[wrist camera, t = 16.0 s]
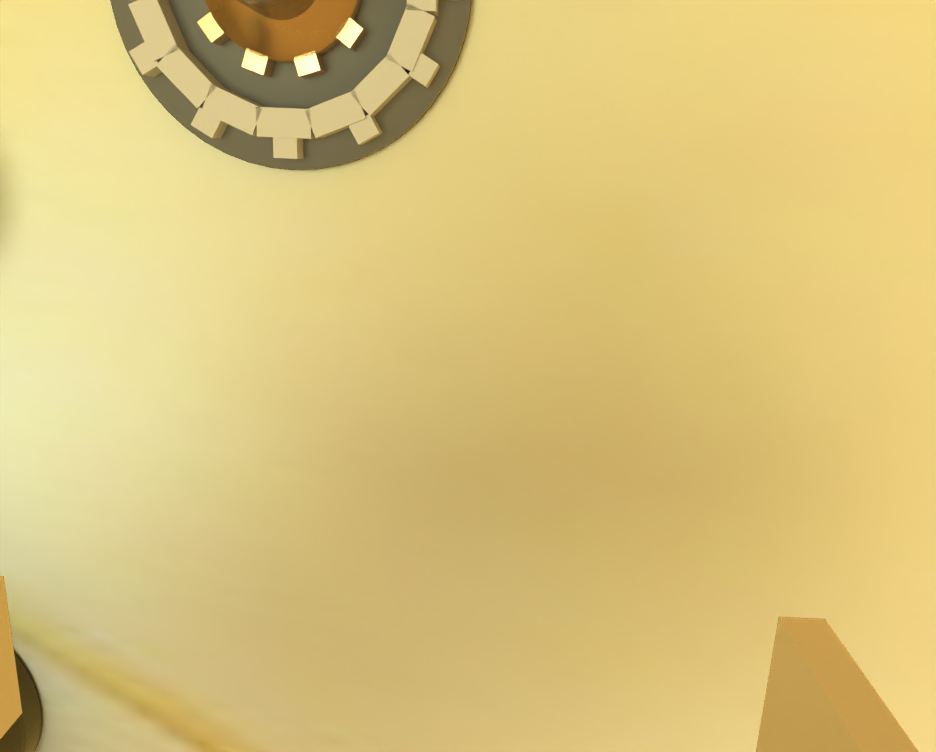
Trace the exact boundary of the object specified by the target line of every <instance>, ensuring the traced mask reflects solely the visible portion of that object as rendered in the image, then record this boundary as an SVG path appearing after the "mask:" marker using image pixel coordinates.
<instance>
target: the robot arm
mask: <svg viewBox="0 0 936 752" xmlns="http://www.w3.org/2000/svg"><path fill="white" fill-rule="evenodd" d="M40 732H41V708H40V702H39V698H38V694H37V691H36V689H35V686H34V684H33V681H32V679H31V677H30V675H29V674H28V672H27V670H26V669H25V667H24V665H23V664H22V663H21V661H20V660H19V659H18V657H17V656H16V655H15V654H14V648H13V641H12V634H11V627H10V619H9V612H8V605H7V597H6V590H5V583H4V576H0V752H34V751H35V749H36V746H37V744H38V740H39V737H40ZM756 752H918V750H917V749H916V747H915V746H914V745H913V743H912V742H911V740H910V739H909V737H908V736H907V735H906V733H905V732H904V730H903V729H902V728H901V726H900V725H899V723H898V722H897V720H896V719H895V718H894V716H893V715H892V713H891V712H890V711H889V709H888V708H887V706H886V705H885V703H884V702H883V701H882V699H881V698H880V696H879V695H878V694H877V692H876V691H875V689H874V688H873V686H872V685H871V684H870V682H869V681H868V679H867V678H866V677H865V675H864V674H863V672H862V671H861V669H860V668H859V667H858V665H857V664H856V662H855V661H854V660H853V658H852V657H851V655H850V654H849V652H848V651H847V650H846V648H845V647H844V645H843V644H842V643H841V641H840V640H839V638H838V637H837V635H836V634H835V633H834V631H833V630H832V628H831V627H830V626H829V624H828V623H827V621H826V620H825V619H814V618H795V617H779V619H778V625H777V631H776V637H775V642H774V648H773V654H772V660H771V666H770V672H769V678H768V684H767V689H766V695H765V701H764V707H763V713H762V719H761V725H760V730H759V736H758V742H757V748H756Z"/></svg>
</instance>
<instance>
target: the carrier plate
mask: <svg viewBox="0 0 936 752" xmlns="http://www.w3.org/2000/svg"><path fill="white" fill-rule="evenodd" d="M110 1H111V5H112V8H113V12H114V16H115V20H116V24H117V27H118V30H119V32H120V35H121V37H122V40H123V43H124V45H125V48H126V50H127V52H128V54H129V56H130V58H131V60H132V62H133V64H134V66H135V68H136V69H137V71H138V73H139V75H140V76H141V77H142V79H143V80H144V82H145V83H146V85H147V86H148V88H149V89H150V91H151V92H152V94H153V95H154V96H155V97H156V98H157V99H158V101H159V102H160V103H161V104H162V105H163V106H164V108H165V109H166V110H167V111H168V112H169V113H170V114H171V115H172V116H173V117H174V118H175V119H176V120H178V121H179V122H180V123H181V124H182V125H183V126H184V127H185V128H186V129H188V130H189V131H191V132H192V133H193V134H195V135H196V136H197V137H199V138H200V139H202V140H203V141H204V142H206V143H208V144H210V145H211V146H213V147H215V148H217V149H219V150H221V151H222V152H224V153H226V154H229V155H231V156H234V157H236V158H239V159H241V160H244V161H247V162H250V163H254V164H258V165H262V166H266V167H270V168H279V169H288V170H310V169H321V168H327V167H333V166H339V165H343V164H346V163H349V162H352V161H356V160H359V159H361V158H364V157H366V156H368V155H370V154H372V153H374V152H376V151H379V150H381V149H382V148H384V147H385V146H387V145H388V144H390V143H391V142H393V141H394V140H396V139H398V138H399V137H400V136H401V135H403V134H404V133H405V132H406V131H407V130H408V129H410V128H411V127H412V126H413V125H414V124H415V123H416V122H417V121H418V120H419V119H420V118H421V117H422V116H423V115H424V113H425V112H426V111H427V110H428V109H429V108H430V107H431V106H432V104H433V103H434V101H435V100H436V98H437V97H438V95H439V94H440V92H441V91H442V89H443V88H444V86H445V85H446V83H447V81H448V79H449V77H450V75H451V73H452V71H453V69H454V67H455V65H456V62H457V60H458V57H459V54H460V51H461V48H462V45H463V43H464V39H465V35H466V30H467V26H468V21H469V17H470V7H471V0H362V4H361V8H360V11H359V14H358V17H357V19H356V21H355V23H357V24H358V25H359V26H360V27H361V28H363V29H364V30H365V31H366V32H367V33H368V34H367V35H366V36H365V38H364V39H363V41H362V42H361V44H360V45H359V46H358V48H357V49H356V51H355V52H354V51H353V50H351V49H350V48H349V47H348V46H346V45H345V44H344V43H343V42H341V43H340V44H339V45H338V46H336V47H335V48H334V49H333V50H331V51H330V52H328V53H327V54H325V55H323V56H322V60H323V63H324V66H325V69H326V73H324V74H321V75H317V76H314V77H311V78H308V79H305V78H302V77H299V75H298V71H297V68H296V65H295V63H291V64H288V63H279V62H276V63H275V66H274V70H273V73H272V77H268V76H265V75H262V74H259V73H257V72H254V71H252V70H249V69H246V68H244V67H242V63H243V60H244V56H245V52H246V50H245V49H243V48H241V47H240V46H239V45H237V44H236V43H235V42H233V41H232V40H231V39H230V40H229V41H228V42H227V43H225V44H224V45H223V46H219V45H217V44H214V43H211V41H210V40H209V38H208V37H207V35H206V34H205V33H204V31H203V30H202V28H201V27H200V25H199V24H198V21H199V20H201V19H202V18H203V17H204V16H206V15H207V14H208V13H209V12H210V11H209V9H208V7H207V5H206V2H205V0H110Z"/></svg>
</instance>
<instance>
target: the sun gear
mask: <svg viewBox="0 0 936 752" xmlns="http://www.w3.org/2000/svg"><path fill="white" fill-rule="evenodd" d="M205 2H206V5H207V7H208V9H209V11H210V12H209V13H208V14H207V15H206V16H204V17H203V18H202V19H201V20H199V21H198V24H199V25H200V27H201V28H202V30H203V31H204V33H205V34H206V35H207V37H208V38H209V40H210V41H211V43H214V44H217V45H219V46H223V45H224V44H225V43H227V42H228V41H229V40H230V39H231V40H232V41H233V42H235V43H236V44H237V45H239V46H240V47H241V48H243V49H245V50H246V52H245V56H244V60H243V63H242V67H244V68H246V69H249V70H252V71H254V72H257V73H259V74H262V75H265V76H268V77H272V73H273V70H274V66H275V63H276V62H279V63H288V64H291V63H295V65H296V68H297V71H298V75H299V77H302V78H305V79H308V78H311V77H314V76H317V75H321V74H324V73H326V69H325V66H324V63H323V60H322V56H323V55H325V54H327V53H328V52H330V51H331V50H333V49H334V48H335V47H336V46H338V45H339V44H340V43H341V42H343V43H344V44H345V45H346V46H348V47H349V48H350V49H351V50H353V51H354V52H355V51H356V49H357V48H358V46H359V45H360V44H361V42H362V41H363V39H364V38H365V36H366V35H367V34H368V33H367V32H366V31H365V30H364V29H363V28H361V27H360V26H359V25H358V24H357V23H355V21H356V19H357V17H358V14H359V11H360V8H361V4H362V0H205Z"/></svg>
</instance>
